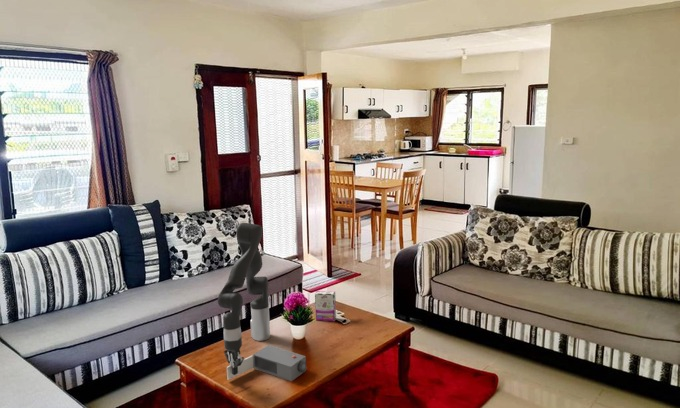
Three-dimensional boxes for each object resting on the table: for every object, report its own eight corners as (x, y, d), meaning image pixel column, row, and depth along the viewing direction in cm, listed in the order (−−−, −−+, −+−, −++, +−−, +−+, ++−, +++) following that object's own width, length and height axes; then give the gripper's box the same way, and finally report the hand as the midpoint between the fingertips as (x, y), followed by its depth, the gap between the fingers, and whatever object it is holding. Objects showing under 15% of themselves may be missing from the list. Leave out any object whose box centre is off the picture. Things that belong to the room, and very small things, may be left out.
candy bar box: (336, 318, 278) (335, 291, 275) (334, 321, 273) (334, 294, 270) (317, 317, 280) (316, 290, 277) (315, 320, 275) (314, 293, 272)
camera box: (253, 368, 223) (253, 353, 222) (269, 358, 232) (268, 343, 231) (294, 382, 211) (293, 366, 209) (309, 371, 220) (308, 355, 218)
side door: (253, 366, 223) (252, 354, 222) (254, 367, 222) (254, 355, 221) (226, 379, 213) (225, 366, 212) (228, 380, 212) (227, 367, 211)
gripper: (217, 334, 211) (219, 371, 214) (233, 343, 202) (235, 382, 204) (231, 329, 216) (234, 365, 219) (248, 338, 207) (250, 375, 209)
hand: (234, 373), depth 211 cm, fingers closed
